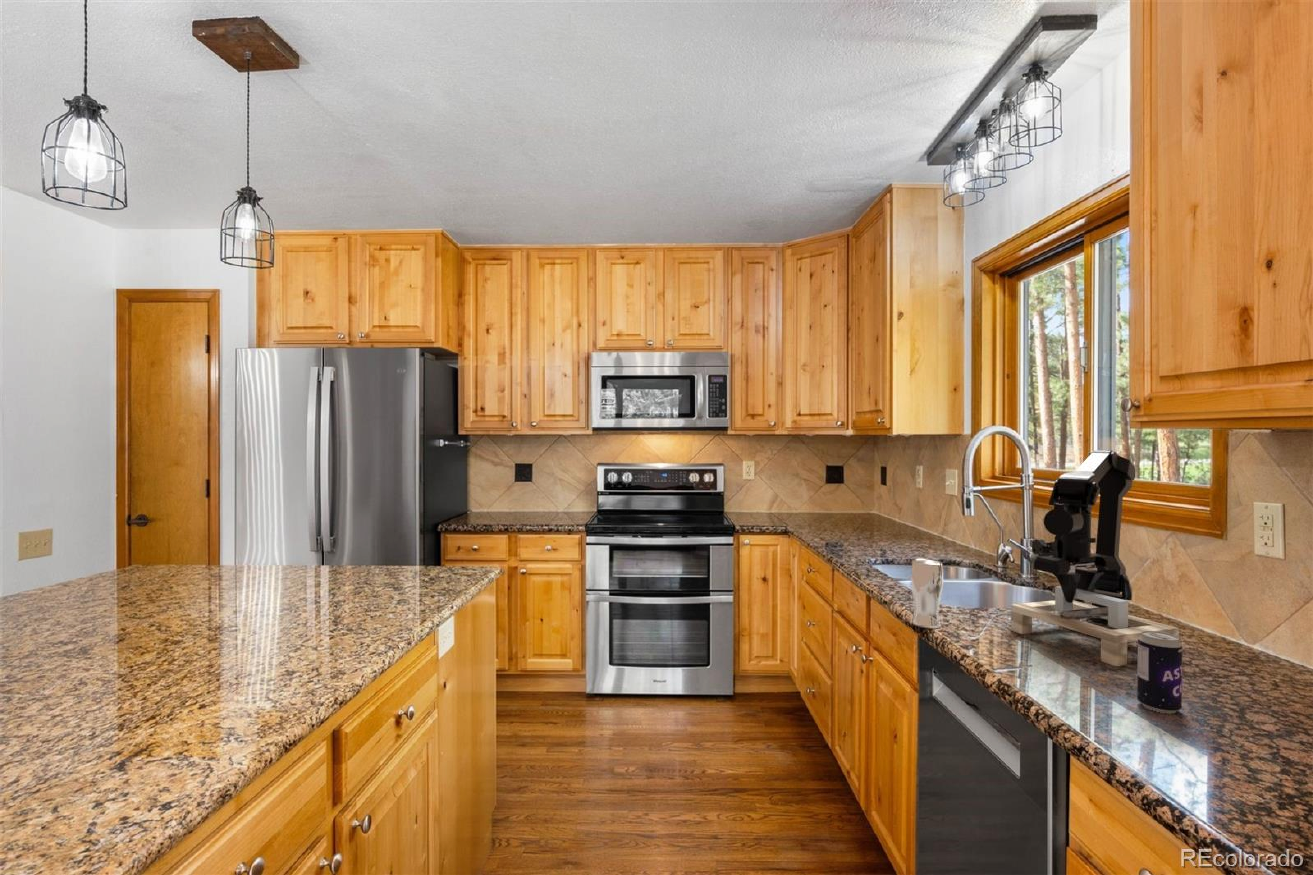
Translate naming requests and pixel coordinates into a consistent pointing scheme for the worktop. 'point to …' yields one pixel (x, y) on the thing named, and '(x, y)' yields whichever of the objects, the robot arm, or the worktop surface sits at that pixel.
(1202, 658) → the worktop surface
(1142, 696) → the beverage can
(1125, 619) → the long white beam
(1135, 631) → the shelf
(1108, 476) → the robot arm
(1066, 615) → the rod
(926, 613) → the beer glass
